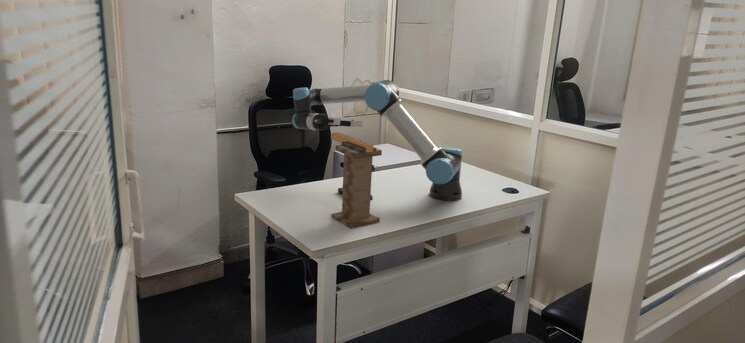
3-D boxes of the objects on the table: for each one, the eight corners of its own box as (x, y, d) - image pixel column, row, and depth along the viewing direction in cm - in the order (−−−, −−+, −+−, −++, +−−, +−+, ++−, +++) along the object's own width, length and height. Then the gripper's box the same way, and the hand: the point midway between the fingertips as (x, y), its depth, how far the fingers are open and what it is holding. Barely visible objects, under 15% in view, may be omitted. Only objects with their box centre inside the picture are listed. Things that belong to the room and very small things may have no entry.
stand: (331, 217, 220) (333, 142, 211) (359, 211, 228) (362, 139, 219) (351, 228, 209) (354, 150, 200) (379, 222, 217) (383, 146, 209)
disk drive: (337, 193, 250) (353, 203, 238) (337, 188, 250) (353, 197, 237) (356, 191, 256) (373, 200, 244) (356, 185, 255) (373, 194, 243)
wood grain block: (331, 139, 222) (331, 133, 221) (338, 138, 224) (338, 132, 223) (365, 152, 204) (366, 146, 203) (373, 151, 206) (373, 145, 205)
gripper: (337, 131, 258) (369, 133, 243) (296, 128, 239) (329, 129, 225) (338, 116, 257) (370, 116, 243) (297, 111, 239) (330, 111, 225)
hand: (350, 122), depth 234 cm, fingers open, 13 cm apart
